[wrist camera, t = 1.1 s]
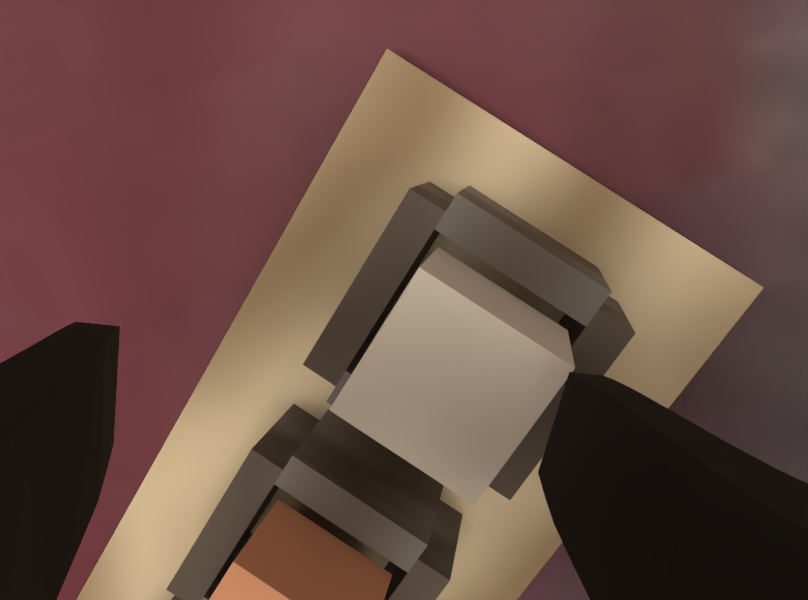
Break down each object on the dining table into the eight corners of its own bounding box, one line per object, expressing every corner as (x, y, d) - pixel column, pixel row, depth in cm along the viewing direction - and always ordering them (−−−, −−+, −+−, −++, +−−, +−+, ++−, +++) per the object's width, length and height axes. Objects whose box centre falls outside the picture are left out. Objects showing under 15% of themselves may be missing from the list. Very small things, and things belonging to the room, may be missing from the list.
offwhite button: (567, 330, 17) (575, 368, 14) (483, 447, 18) (474, 505, 15) (438, 246, 17) (419, 267, 14) (361, 367, 18) (328, 409, 15)
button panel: (747, 277, 21) (812, 317, 16) (310, 838, 28) (263, 984, 23) (396, 55, 21) (357, 28, 16) (51, 661, 28) (-49, 769, 23)
